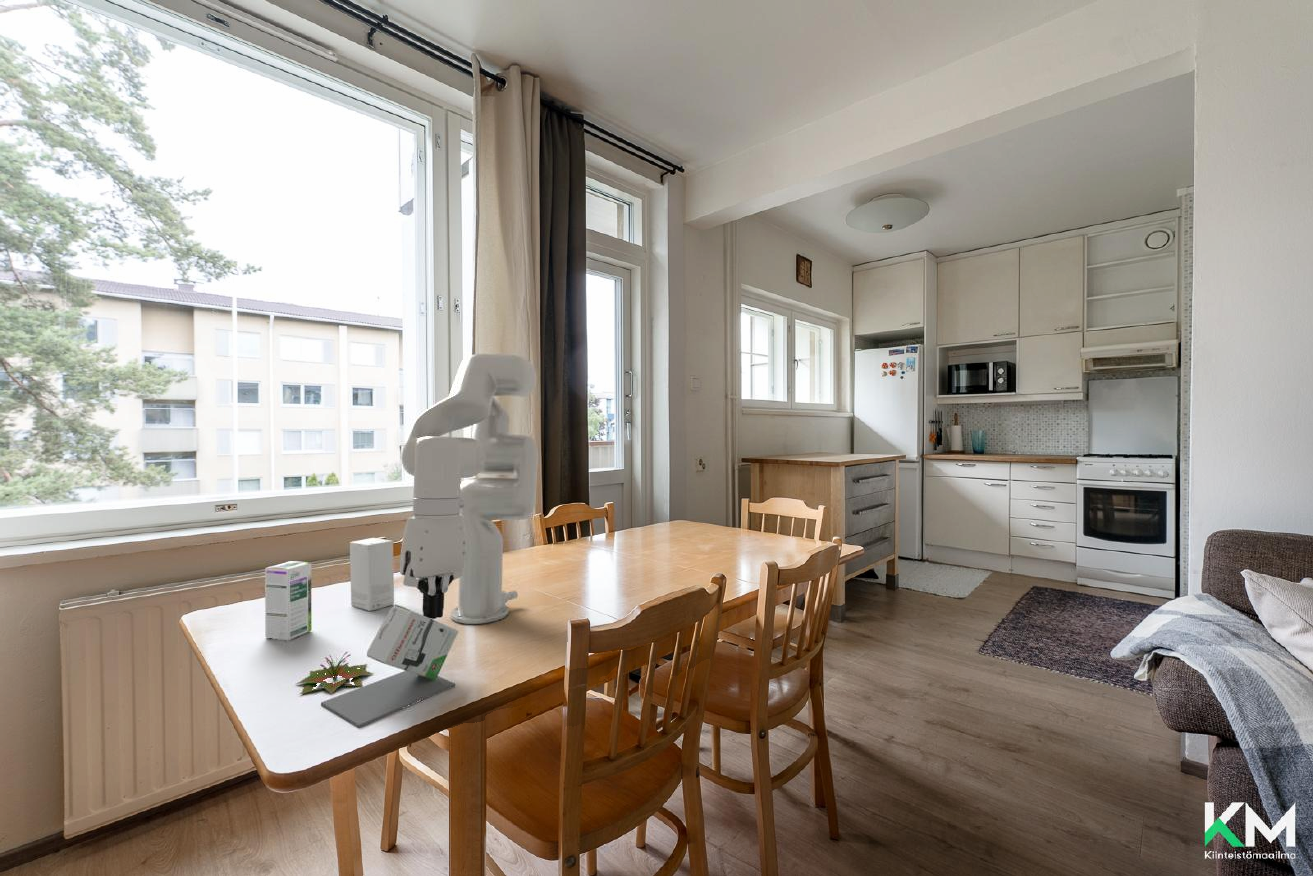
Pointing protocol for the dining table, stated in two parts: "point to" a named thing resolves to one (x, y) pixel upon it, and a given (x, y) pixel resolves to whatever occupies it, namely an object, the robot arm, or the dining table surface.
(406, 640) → the ink box
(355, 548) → the skincare box
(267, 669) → the dining table surface
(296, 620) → the syrup box
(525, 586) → the dining table surface
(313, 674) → the lily flower
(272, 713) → the dining table surface
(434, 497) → the robot arm
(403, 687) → the mat
